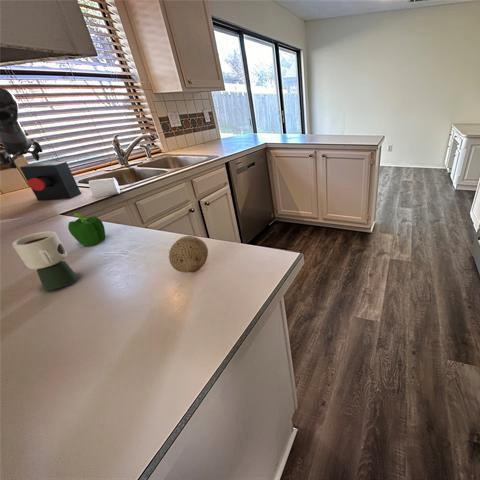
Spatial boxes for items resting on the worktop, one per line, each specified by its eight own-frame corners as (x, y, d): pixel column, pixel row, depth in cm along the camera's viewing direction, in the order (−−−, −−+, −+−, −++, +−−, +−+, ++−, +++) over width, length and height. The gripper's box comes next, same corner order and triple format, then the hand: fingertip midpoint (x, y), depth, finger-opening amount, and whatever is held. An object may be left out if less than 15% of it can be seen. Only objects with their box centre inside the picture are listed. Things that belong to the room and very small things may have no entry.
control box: (71, 198, 127) (54, 165, 120) (38, 201, 125) (19, 167, 118) (81, 193, 134) (66, 161, 127) (50, 195, 132) (33, 163, 125)
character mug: (86, 285, 64) (60, 238, 58) (47, 301, 59) (14, 251, 53) (75, 270, 70) (50, 226, 64) (39, 283, 66) (9, 237, 60)
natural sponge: (209, 280, 65) (199, 244, 60) (170, 285, 63) (157, 249, 59) (214, 261, 73) (206, 228, 68) (180, 265, 71) (169, 232, 67)
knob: (46, 190, 119) (39, 177, 116) (32, 191, 118) (25, 178, 115) (55, 186, 124) (49, 174, 122) (42, 187, 123) (35, 175, 121)
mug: (119, 195, 129) (112, 179, 126) (94, 199, 125) (86, 182, 122) (122, 189, 139) (116, 174, 135) (99, 192, 135) (92, 177, 131)
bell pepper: (113, 241, 85) (100, 212, 80) (81, 251, 80) (65, 221, 75) (105, 234, 90) (92, 207, 85) (75, 243, 84) (59, 215, 80)
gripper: (24, 123, 110) (36, 151, 122) (-19, 135, 100) (-2, 164, 112) (40, 136, 111) (50, 162, 123) (-2, 148, 101) (13, 175, 113)
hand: (25, 163), depth 117 cm, fingers open, 8 cm apart
